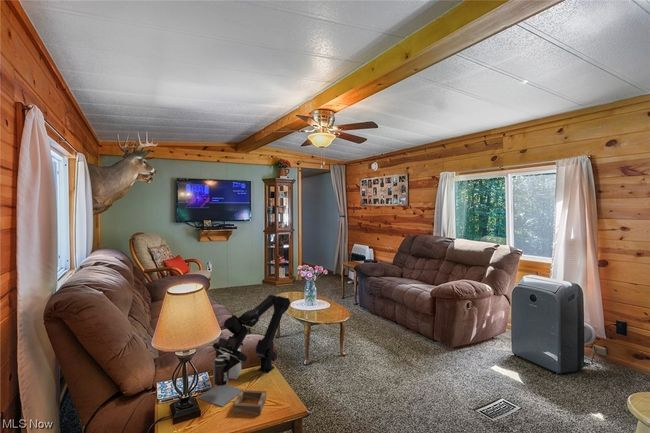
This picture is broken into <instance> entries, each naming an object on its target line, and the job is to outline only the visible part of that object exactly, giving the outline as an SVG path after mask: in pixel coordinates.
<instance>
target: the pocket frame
mask: <svg viewBox="0 0 650 433" xmlns="http://www.w3.org/2000/svg"><path fill="white" fill-rule="evenodd" d="M245 400H246V401H258V402H257V403H243V401H245ZM266 401H267V391H266V390H252V389H251V390H249V389H246V390H245V389H242V390H241V391H240V393H239V395H237V396H236V399H235V401H234V403H233V405H232V413H233V414H234V415H235V414H237V415H255V416H256V415H259V416H260V415H261V414H262V411H263V408H264V405H265V403H266Z"/></svg>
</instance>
